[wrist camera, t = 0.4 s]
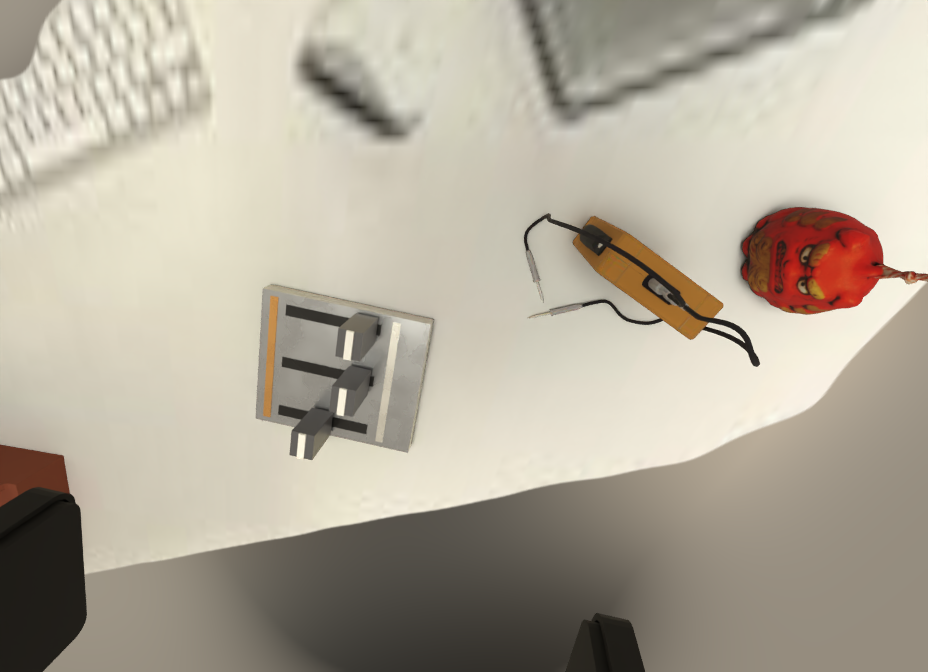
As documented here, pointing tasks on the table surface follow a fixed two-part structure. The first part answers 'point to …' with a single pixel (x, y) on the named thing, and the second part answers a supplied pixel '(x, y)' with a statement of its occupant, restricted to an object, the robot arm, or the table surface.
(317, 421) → the breaker far
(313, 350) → the panel
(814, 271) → the red clay folk toy
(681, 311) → the multimeter
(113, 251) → the table surface
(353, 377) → the breaker mid
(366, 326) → the block
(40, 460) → the hanging shelf
